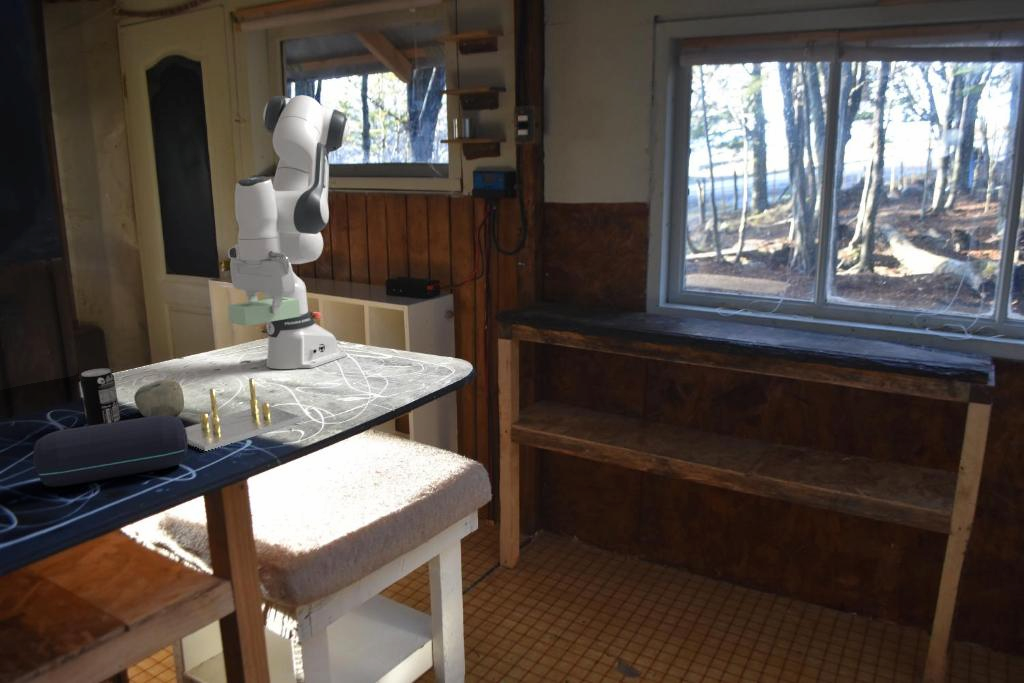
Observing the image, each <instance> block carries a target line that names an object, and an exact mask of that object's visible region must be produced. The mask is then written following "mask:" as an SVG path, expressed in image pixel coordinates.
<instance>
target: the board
mask: <svg viewBox="0 0 1024 683" xmlns="http://www.w3.org/2000/svg"><path fill="white" fill-rule="evenodd" d="M272 302H273V299H266V300H265V299H261V300H259V299H258V301H252V302H249V301H246V302H240V303H233V304H228V305H227V306H228V316H229V323H230V324H234V325H239V326H244V327H248V326H253V325H259V324H266V322H272V321H277V320H283V319H289V318H294V317H300V308H299V299H293V298H286V297H283V300H282V303H281V305H280V307H281V312H280V313H279V314H272V313H271V312H270V306H272Z"/></svg>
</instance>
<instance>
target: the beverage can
mask: <svg viewBox="0 0 1024 683" xmlns="http://www.w3.org/2000/svg"><path fill="white" fill-rule="evenodd" d="M80 376H81V378H80V380H79V382H80V387H81V388H80V389H81V393H82V394H81V395H82V401H83V408H84V412H85V420H86V423H87V426H92V425H99V424H105V423H112V422H118V421H121V412H120V407H119V402H118V401H119V399H118V395H117V388H116V387H117V386H116V382H115V376H114V375H113V373H112V371H111V369H110V368H93V369H90V370H85V371H83V372H82V373H81V375H80Z"/></svg>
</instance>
